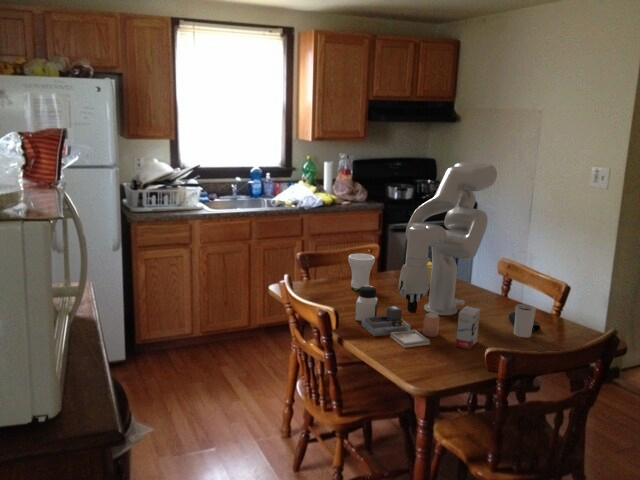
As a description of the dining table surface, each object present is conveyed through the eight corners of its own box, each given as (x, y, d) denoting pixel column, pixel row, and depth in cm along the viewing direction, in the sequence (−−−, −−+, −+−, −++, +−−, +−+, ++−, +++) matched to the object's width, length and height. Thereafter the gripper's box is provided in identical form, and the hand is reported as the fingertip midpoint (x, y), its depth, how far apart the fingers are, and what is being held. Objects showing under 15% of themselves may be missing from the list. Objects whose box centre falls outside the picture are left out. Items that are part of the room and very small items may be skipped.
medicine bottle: (374, 322, 209) (376, 290, 206) (355, 320, 210) (356, 289, 208) (376, 316, 216) (378, 285, 213) (357, 314, 217) (359, 283, 214)
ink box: (469, 350, 188) (472, 315, 186) (454, 346, 191) (458, 312, 188) (477, 341, 195) (480, 308, 193) (463, 338, 198) (466, 305, 195)
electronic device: (541, 336, 207) (531, 316, 221) (542, 322, 205) (531, 303, 219) (514, 337, 208) (505, 317, 222) (515, 324, 206) (505, 304, 220)
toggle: (396, 318, 206) (397, 305, 205) (401, 321, 203) (402, 308, 202) (386, 319, 205) (387, 306, 204) (391, 322, 201) (391, 309, 200)
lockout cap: (432, 330, 204) (434, 311, 202) (440, 335, 199) (442, 316, 197) (420, 332, 202) (422, 312, 200) (428, 337, 197) (429, 317, 196)
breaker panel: (396, 321, 210) (397, 312, 210) (410, 332, 201) (411, 322, 201) (361, 325, 205) (362, 315, 204) (374, 336, 196) (374, 326, 195)
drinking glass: (522, 339, 199) (525, 311, 197) (508, 332, 205) (511, 305, 203) (536, 336, 202) (540, 309, 200) (522, 329, 208) (526, 303, 206)
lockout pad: (414, 333, 200) (415, 329, 200) (429, 344, 191) (429, 340, 191) (390, 336, 197) (390, 332, 196) (404, 347, 188) (404, 343, 188)
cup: (348, 283, 254) (349, 252, 251) (373, 285, 252) (375, 254, 249) (345, 291, 243) (347, 259, 240) (372, 293, 241) (374, 260, 238)
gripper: (429, 258, 208) (424, 307, 212) (392, 259, 202) (388, 310, 206) (440, 263, 201) (435, 314, 205) (403, 265, 196) (398, 317, 199)
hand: (411, 311), depth 205 cm, fingers closed
